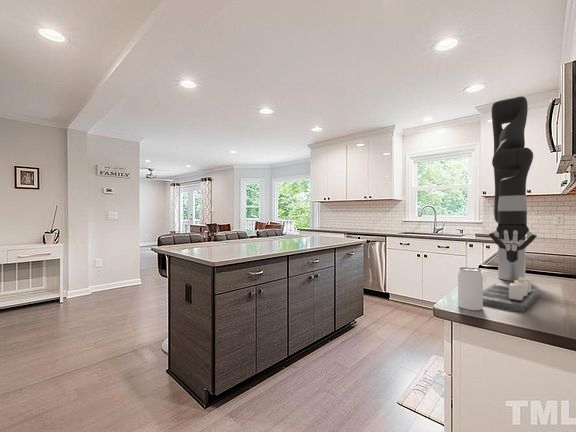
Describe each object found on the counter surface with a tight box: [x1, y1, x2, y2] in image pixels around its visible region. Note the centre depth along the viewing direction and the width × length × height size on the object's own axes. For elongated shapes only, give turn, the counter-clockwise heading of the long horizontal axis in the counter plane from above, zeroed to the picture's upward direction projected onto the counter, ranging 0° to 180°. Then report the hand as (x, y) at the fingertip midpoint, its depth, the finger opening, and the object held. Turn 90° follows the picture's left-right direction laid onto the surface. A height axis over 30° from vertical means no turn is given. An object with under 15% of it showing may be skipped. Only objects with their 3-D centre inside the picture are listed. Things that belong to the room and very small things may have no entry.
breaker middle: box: [513, 280, 528, 296], centre depth 94 cm, size 3×3×4 cm
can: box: [457, 266, 484, 312], centre depth 89 cm, size 6×6×12 cm
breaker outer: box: [508, 282, 523, 300], centre depth 90 cm, size 3×3×4 cm
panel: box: [483, 283, 540, 314], centre depth 97 cm, size 24×13×2 cm, turn 131°
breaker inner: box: [518, 277, 532, 293], centre depth 98 cm, size 3×3×4 cm
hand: (512, 261), depth 96 cm, fingers closed
